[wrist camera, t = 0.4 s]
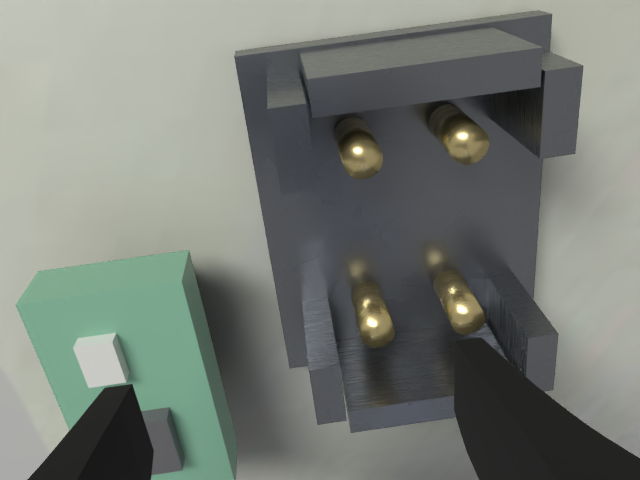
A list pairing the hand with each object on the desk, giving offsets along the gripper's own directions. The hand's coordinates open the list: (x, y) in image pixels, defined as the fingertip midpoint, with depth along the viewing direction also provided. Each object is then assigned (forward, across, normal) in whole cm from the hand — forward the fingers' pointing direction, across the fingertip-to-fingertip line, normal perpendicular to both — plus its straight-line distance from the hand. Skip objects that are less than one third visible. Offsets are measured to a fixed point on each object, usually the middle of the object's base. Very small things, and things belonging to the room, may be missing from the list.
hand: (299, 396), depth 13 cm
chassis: (+10, -4, 0) cm, 11 cm away
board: (+7, +6, +4) cm, 10 cm away
